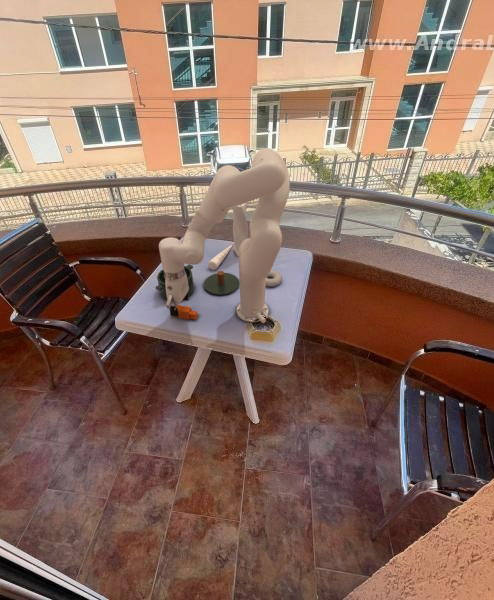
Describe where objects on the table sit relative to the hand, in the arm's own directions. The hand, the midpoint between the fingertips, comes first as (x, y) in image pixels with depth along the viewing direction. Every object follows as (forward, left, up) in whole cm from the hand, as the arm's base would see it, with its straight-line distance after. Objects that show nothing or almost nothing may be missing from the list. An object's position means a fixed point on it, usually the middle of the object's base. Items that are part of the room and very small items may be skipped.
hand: (179, 307), depth 125 cm
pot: (+16, -6, -4) cm, 17 cm away
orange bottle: (0, -1, -4) cm, 4 cm away
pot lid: (+8, -23, -4) cm, 25 cm away
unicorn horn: (+27, -35, -5) cm, 44 cm away
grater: (+39, -51, +9) cm, 64 cm away
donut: (-2, -43, -5) cm, 43 cm away
